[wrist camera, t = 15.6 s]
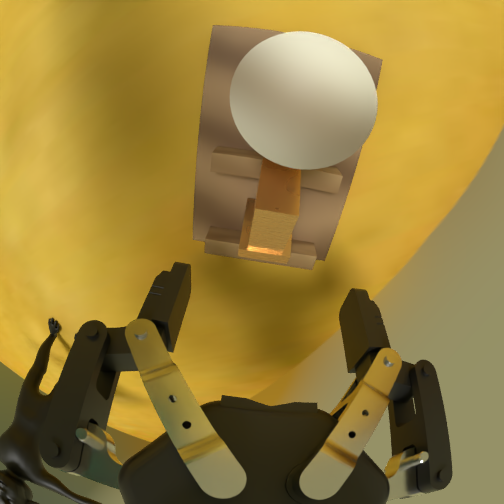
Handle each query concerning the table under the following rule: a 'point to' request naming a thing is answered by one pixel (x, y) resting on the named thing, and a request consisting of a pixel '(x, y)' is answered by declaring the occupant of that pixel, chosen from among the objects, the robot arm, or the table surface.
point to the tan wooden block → (271, 214)
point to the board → (223, 130)
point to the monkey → (30, 438)
